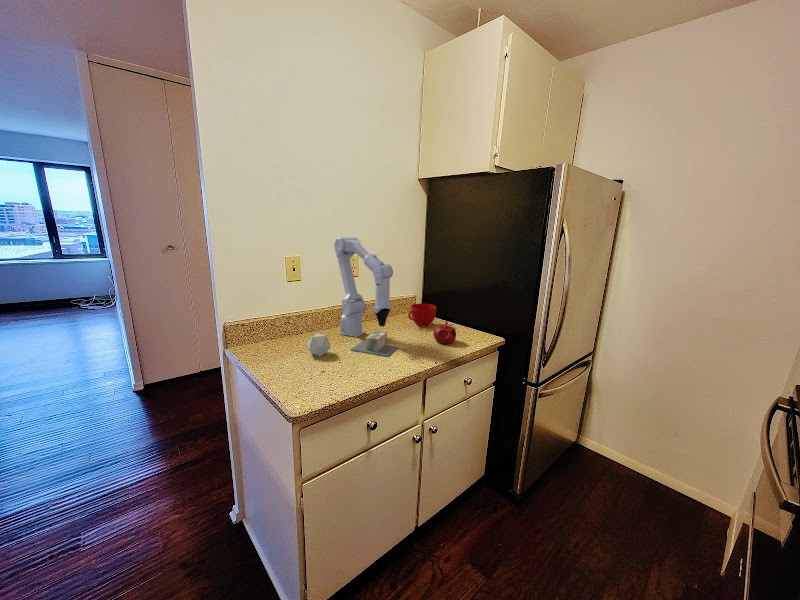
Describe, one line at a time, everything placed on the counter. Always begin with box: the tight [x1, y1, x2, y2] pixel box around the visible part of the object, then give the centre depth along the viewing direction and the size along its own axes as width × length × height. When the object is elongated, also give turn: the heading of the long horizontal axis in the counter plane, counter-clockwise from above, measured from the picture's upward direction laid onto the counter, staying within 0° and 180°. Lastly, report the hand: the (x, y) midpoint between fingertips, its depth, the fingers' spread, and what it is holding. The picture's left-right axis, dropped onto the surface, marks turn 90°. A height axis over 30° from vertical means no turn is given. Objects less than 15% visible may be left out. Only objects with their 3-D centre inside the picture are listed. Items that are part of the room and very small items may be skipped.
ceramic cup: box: [407, 303, 437, 328], centre depth 165 cm, size 13×17×10 cm
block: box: [365, 330, 388, 351], centre depth 133 cm, size 5×5×10 cm
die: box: [306, 332, 332, 358], centre depth 124 cm, size 8×9×10 cm
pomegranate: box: [432, 321, 457, 345], centre depth 142 cm, size 10×10×9 cm
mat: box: [350, 340, 399, 358], centre depth 132 cm, size 16×11×1 cm
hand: (382, 325), depth 136 cm, fingers closed
